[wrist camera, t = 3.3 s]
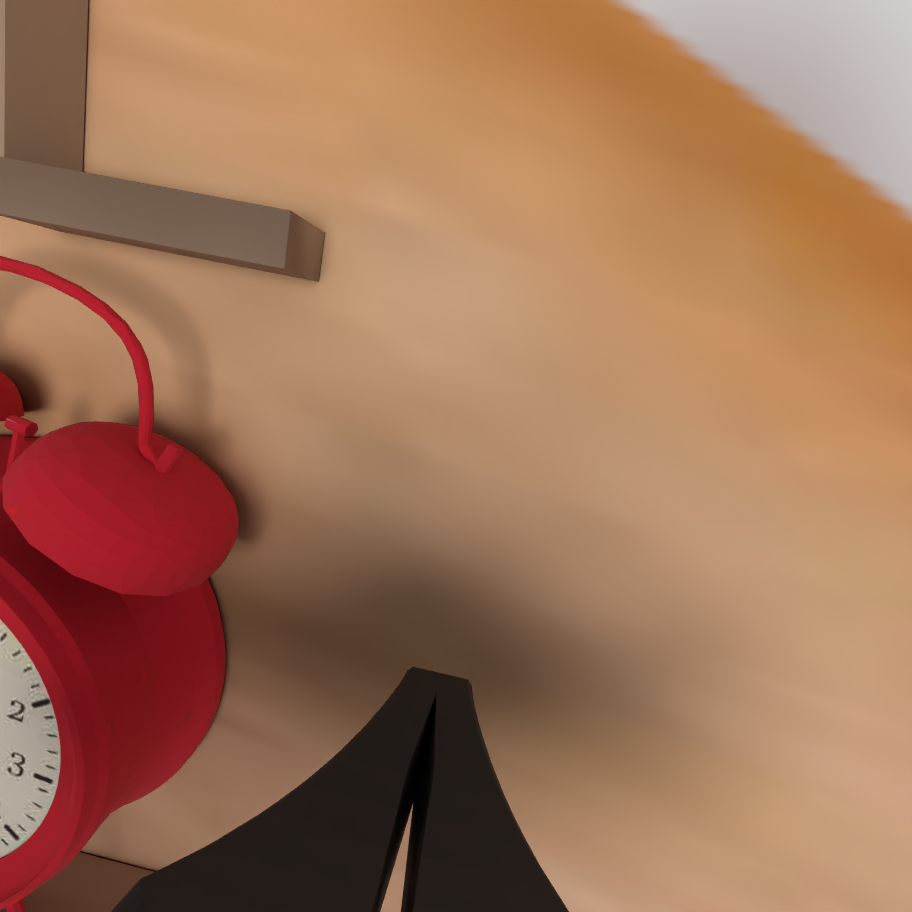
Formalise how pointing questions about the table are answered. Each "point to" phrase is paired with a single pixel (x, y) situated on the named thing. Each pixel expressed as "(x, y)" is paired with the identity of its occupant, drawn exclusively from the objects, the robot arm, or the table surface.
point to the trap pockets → (43, 81)
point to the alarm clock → (99, 617)
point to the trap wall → (170, 230)
